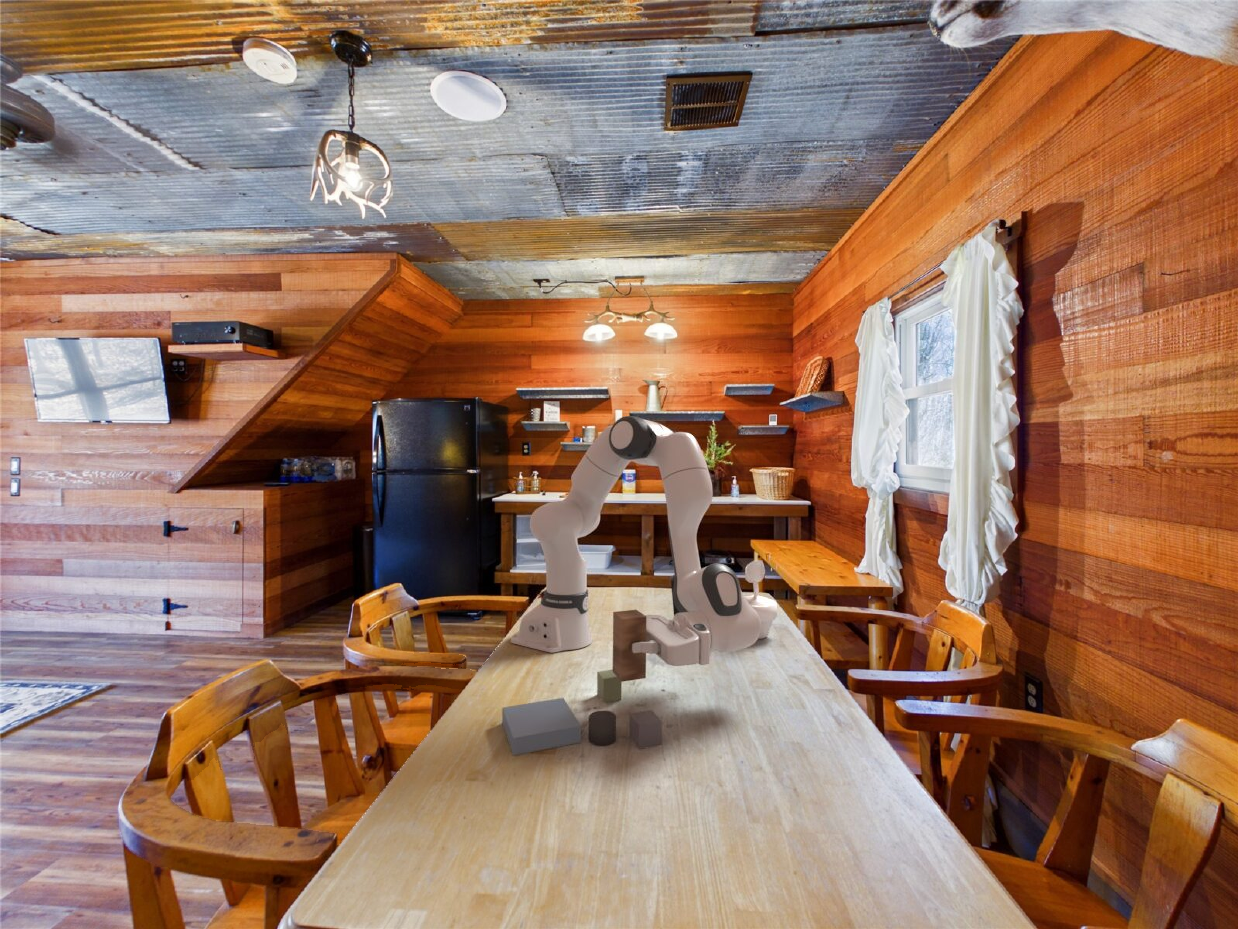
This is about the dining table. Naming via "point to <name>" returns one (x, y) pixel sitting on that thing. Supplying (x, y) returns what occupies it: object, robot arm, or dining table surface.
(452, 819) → the dining table surface
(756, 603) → the potted plant
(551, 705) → the slate riser
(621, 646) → the walnut block
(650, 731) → the mauve grey cube
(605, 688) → the olive block
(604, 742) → the charcoal cylinder
